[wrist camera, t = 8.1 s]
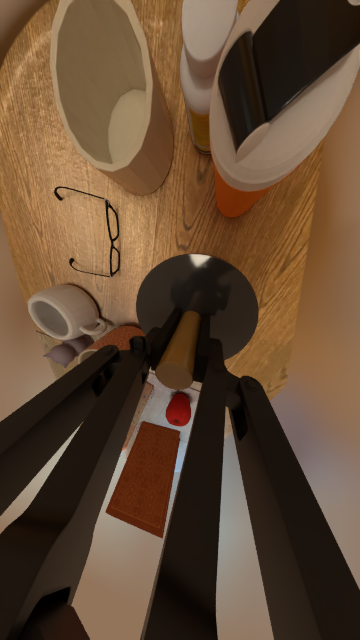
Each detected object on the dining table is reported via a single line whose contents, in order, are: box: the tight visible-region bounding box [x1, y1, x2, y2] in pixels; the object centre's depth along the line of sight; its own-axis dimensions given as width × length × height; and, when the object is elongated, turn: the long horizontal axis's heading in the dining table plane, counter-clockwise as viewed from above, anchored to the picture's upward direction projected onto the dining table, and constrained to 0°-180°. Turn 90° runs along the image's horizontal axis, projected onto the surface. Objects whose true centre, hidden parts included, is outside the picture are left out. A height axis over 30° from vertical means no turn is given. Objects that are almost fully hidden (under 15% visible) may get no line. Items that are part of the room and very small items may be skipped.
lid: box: [136, 254, 258, 390], centre depth 12 cm, size 14×14×9 cm
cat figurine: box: [44, 334, 93, 368], centre depth 47 cm, size 8×8×12 cm
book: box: [106, 421, 180, 538], centre depth 61 cm, size 23×8×30 cm, turn 90°
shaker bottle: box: [209, 0, 360, 217], centre depth 15 cm, size 9×9×20 cm
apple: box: [166, 393, 191, 426], centre depth 51 cm, size 10×10×11 cm
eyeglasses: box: [54, 187, 120, 278], centre depth 31 cm, size 16×16×4 cm
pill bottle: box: [180, 0, 239, 154], centre depth 16 cm, size 6×6×12 cm
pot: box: [50, 0, 174, 195], centre depth 20 cm, size 13×13×10 cm
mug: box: [28, 285, 107, 340], centre depth 40 cm, size 21×17×10 cm
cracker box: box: [122, 382, 154, 450], centre depth 51 cm, size 14×6×21 cm, turn 149°
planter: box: [78, 326, 145, 364], centre depth 40 cm, size 17×17×15 cm
